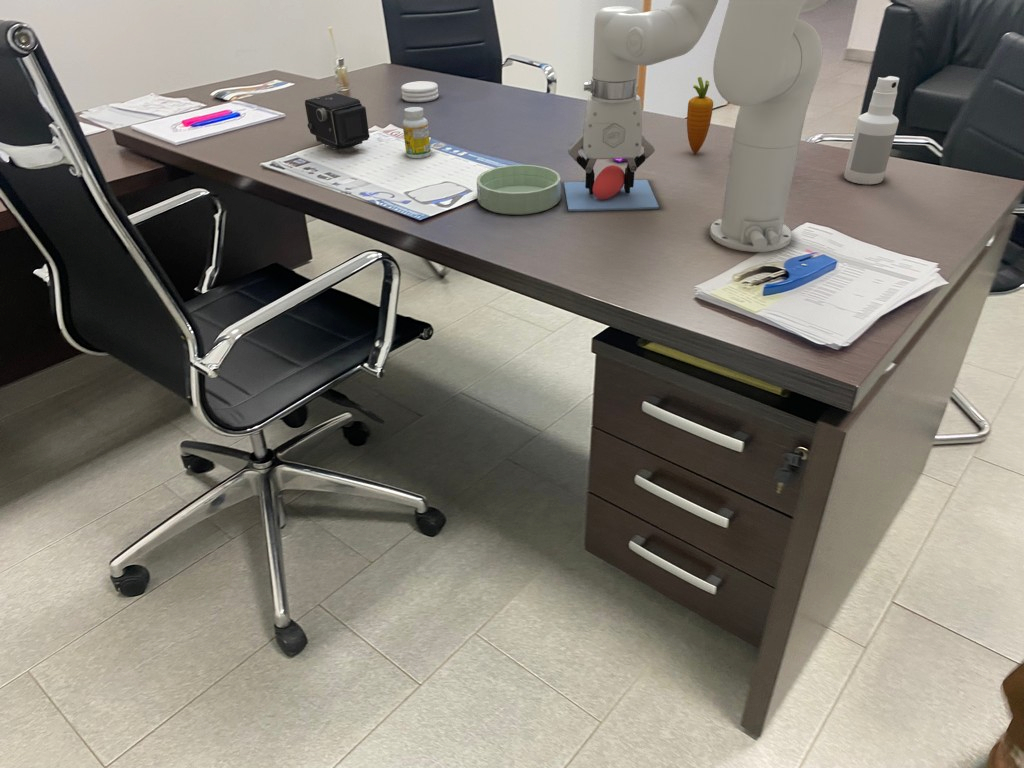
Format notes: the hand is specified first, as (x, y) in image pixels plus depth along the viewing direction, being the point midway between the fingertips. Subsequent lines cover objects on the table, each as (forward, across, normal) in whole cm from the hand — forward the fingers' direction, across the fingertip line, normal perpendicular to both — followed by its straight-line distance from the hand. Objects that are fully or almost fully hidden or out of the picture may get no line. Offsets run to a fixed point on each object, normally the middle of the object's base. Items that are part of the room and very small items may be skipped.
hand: (609, 190), depth 132 cm
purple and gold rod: (+1, 0, +25) cm, 25 cm away
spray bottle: (+1, +49, +5) cm, 49 cm away
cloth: (+1, 0, 0) cm, 1 cm away
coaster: (+2, -44, +78) cm, 89 cm away
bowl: (+1, -17, -1) cm, 17 cm away
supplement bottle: (+1, -38, +28) cm, 47 cm away
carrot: (+1, +20, +23) cm, 31 cm away
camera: (+1, -57, +34) cm, 66 cm away
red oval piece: (+1, 0, 0) cm, 1 cm away
